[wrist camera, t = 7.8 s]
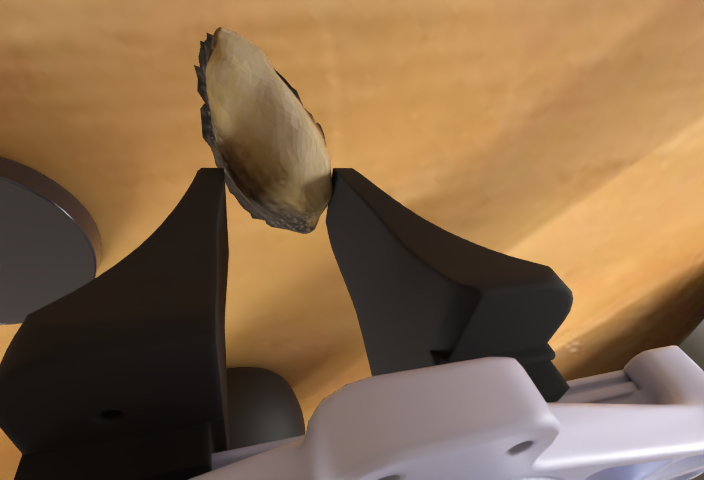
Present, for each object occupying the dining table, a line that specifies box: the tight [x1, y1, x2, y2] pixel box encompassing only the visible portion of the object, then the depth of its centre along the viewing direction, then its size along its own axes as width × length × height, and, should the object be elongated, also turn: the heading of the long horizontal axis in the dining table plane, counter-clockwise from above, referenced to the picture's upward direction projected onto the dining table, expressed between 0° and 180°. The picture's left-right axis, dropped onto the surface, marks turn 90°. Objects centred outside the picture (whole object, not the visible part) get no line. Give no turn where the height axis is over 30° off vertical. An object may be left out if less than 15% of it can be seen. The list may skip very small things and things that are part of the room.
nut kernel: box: [194, 27, 333, 234], centre depth 12 cm, size 6×5×3 cm
